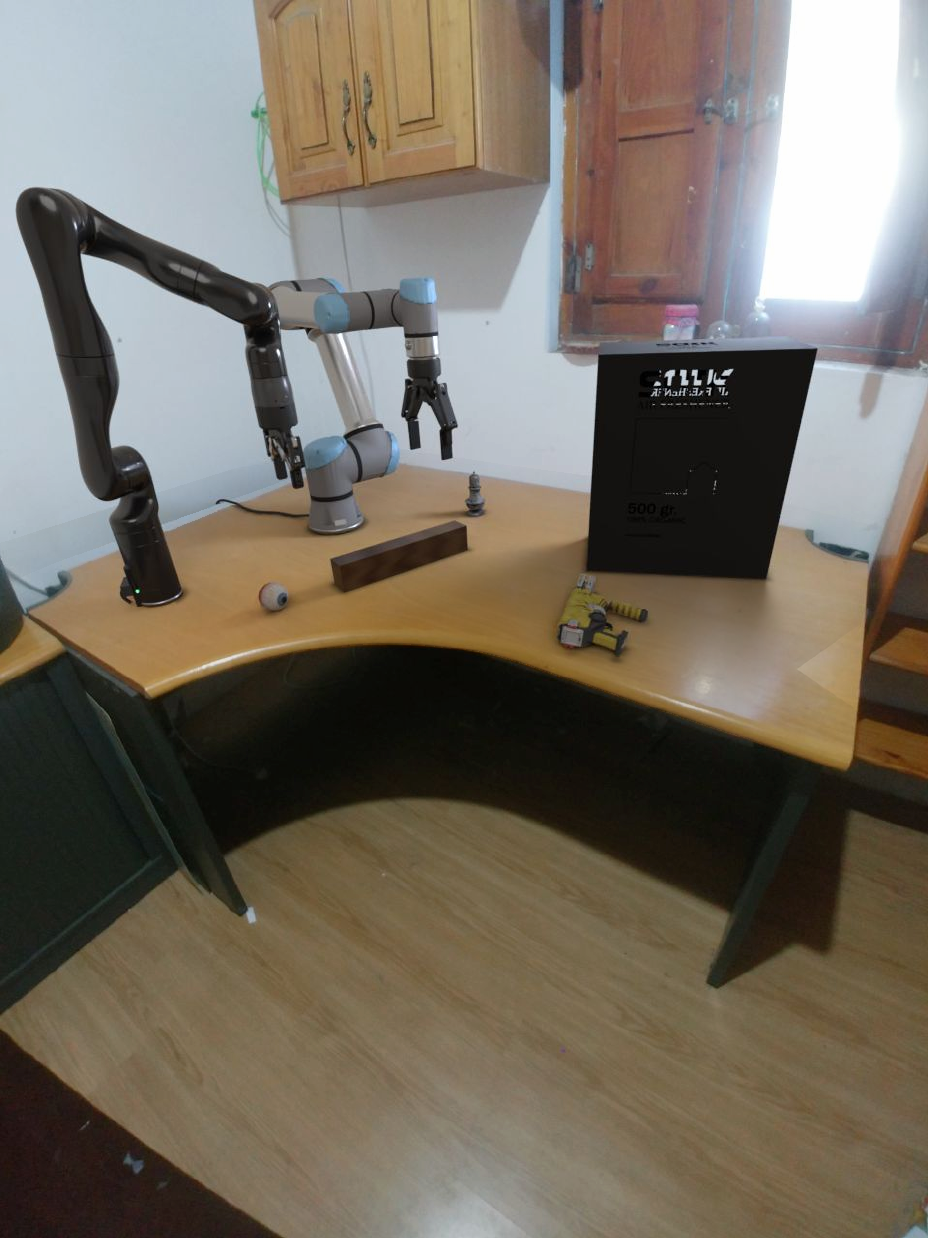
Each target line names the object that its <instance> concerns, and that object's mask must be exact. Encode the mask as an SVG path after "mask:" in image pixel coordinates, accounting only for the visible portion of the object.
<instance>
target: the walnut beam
mask: <svg viewBox="0 0 928 1238" xmlns="http://www.w3.org/2000/svg"><path fill="white" fill-rule="evenodd" d="M468 545H469V544H468V526H467V525H466V524H464V523H461V522H459V521H457V520H452V521H448V522H445V523H442V524H438V525H435V526H432V527H428V528H425V529H422V530H419V531H416V532H411V533H410V534H405V535H403V536H400V537H396V538H393V539H389V540H386V541H384V542H379V543H377V544H374V545H371V546H367V547H363V548H361V549H358V550H353V551H351V552H348V553H345V554H341V555H338V556H335V557H331V558H329V561H330V567H331V572H332V577H333V583H334V586H335V587H337V588H338V589H339V590H340V591H342V592H343V593H347V592H350V591H353V590H355V589H359V588H362V587H365V586H367V585H371V584H374V583H377V582H379V581H382V580H385V579H388V578H391V577H394V576H397V575H400V574H403V573H405V572H408V571H412V570H414V569H417V568H420V567H423V566H426V565H429V564H432V563H435V562H437V561H440V560H444V559H447V558H450V557H452V556H455V555H458V554H462V553H464V552H466V551H467V552H468V551H469V546H468Z"/></svg>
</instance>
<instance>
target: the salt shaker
mask: <svg viewBox="0 0 928 1238" xmlns="http://www.w3.org/2000/svg"><path fill="white" fill-rule="evenodd" d="M468 481H469V482H468V483H469V486H468V487H467V489H468V490H469V493H468V494H469V496H468V498H466V499H464V503H465V505H466V507H467V508H468V510H466V515H467V516H472V517H479V516H482V515H485V514H486V511H485V510H484V509H483V508H484V506H485V504H486V503H485V502H486V498H485V497H482V495H481V489H482V486H481V485H480V484H481V483H480V476H479V474H476V471H472V473H471V475H469V477H468Z"/></svg>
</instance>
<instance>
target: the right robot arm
mask: <svg viewBox="0 0 928 1238" xmlns="http://www.w3.org/2000/svg"><path fill="white" fill-rule="evenodd" d="M266 287H267V288H269V289H270V291H271V292H272V293H273V295H274V297H275V299H276V302H277V306H278V311H279V318H280V328H281V331H282V330H283V331H300V330H305V334H306V336H307V339H308V340H309V341H311V342H313V343H314V344H315V345H316V349H317V351H318V354H319V357H320V360H321V362H322V365H323V367H324V371H325V374H326V376H327V379H328V382H329V386H330V388H331V391H332V393H333V397H334V399H335V402H336V405H337V408H338V411H339V414H340V416H341V420H342V422H343V425H344V427H345V430H344V432H343V434H342V435H331V436H324V437H321V438H317V439H315V440H312V441H311V442H309V443H308V444H306V445H305V446H304V448H303V449H302V450H303V455H304V460H305V464H306V467H304V471H305V477H306V481H307V486H308V492H309V498H310V507H309V513H299V514H297V513H296V514H295V513H287V512H284V511H277V510H260V509H259V510H258V509H252V508H249V507H246V506H244V505H243V504H240V503H239V502H237V501H233V500H229V499H225V498H219V499H218V500H216V501H215V505H218V504H220V503H221V502H225V503H229V504H232V505H236V506H237V507H239V508H240V509H242V510H245V511H248V512H251V513H255V514H266V515H269V514H270V515H272V514H273V515H280V516H286V517H291V518H292V517H293V518H305V517H306V518H308V528H309V529H308V530H310V531H311V532H312V533H314V534H317V535H323V536H324V535H325V536H327V535H329V536H331V535H339V534H340V535H341V534H345V533H350V532H353V531H355V530H357V529H359V528H361V527H362V526H363V525H364V523H365V519H364V514H363V512H362V510H361V508H360V505H359V504H358V501H357V500H356V498H355V495H354V489H353V485H354V484H355V485H356V484H358V483H362V482H365V481H369V480H374V479H377V478H379V479H380V478H384V477H385V476H388V475H391V474H393V473H394V472H395V471H396V470H397V468H398V466H399V464H400V458H401V457H400V456H401V452H400V444H399V442H398V439H397V437H396V435H394V433H393V432H392V431H389V430H385V427H384V424H383V422H380V421H379V420H378V419H376V417H375V414H374V412H373V409H372V406H371V403H370V400H369V397H368V395H367V392H366V389H365V386H364V382H363V380H362V377H361V374H360V370H359V368H358V365H357V361H356V359H355V357H354V353H353V350H352V347H351V345H350V342H349V338H348V336H347V333H351V332H359V331H368V330H370V331H371V330H379V329H387V328H403V337H404V347H405V356H406V357H407V358H408V359H407V360H406V370H407V371H406V372H407V376H408V378H404V393H403V400H402V406H401V413H400V416H401V418H402V419H405V420H404V421H405V422H406V424H407V433H408V441H409V449H410V450H411V451H414V450H417V449H421V448H422V444H421V432H420V421H419V417H418V415H419V413H420V411H421V409H422V405H423V403H425V404H427V406H429V407H430V408H431V410H432V413H433V414H434V417H435V419H436V421H437V423H438V424H439V427H440V429H439V445H440V446H439V447H440V457H441V458H440V460H441V461H447V460H451V459H454V456H453V455H454V454H453V453H454V452H453V430H454V429H457V428H458V427H459V424H458V421H457V417H456V414H455V411H454V408H453V405H452V402H451V399H450V396H449V390H448V384H447V383H446V382H441V383H439V381H438V377H440V376H441V374H442V365H441V363H442V362H441V358H440V357H438V356H439V355H441V346H440V335H439V318H438V317H439V316H438V297H437V293H436V292H437V291H436V283H435V280H434V279H433V278H432V277H429V276H427V277H412V278H411V277H410V278H409V277H408V278H402V279H401V280H400V281H399V288H397V289H396V288H382V289H378V290H377V289H376V290H375V289H374V290H367V291H365V290H364V291H352V292H351V291H350V292H347V291H346V289H345V288H344V286H343V284H341V283H340V282H339V281H338V280H336V279H334V278H325V277H316V278H311V279H308V278H307V279H296V280H295V279H293V280H292V279H291V280H280V281H276V282H274V283H272V284H270V285H268V286H266Z"/></svg>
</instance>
